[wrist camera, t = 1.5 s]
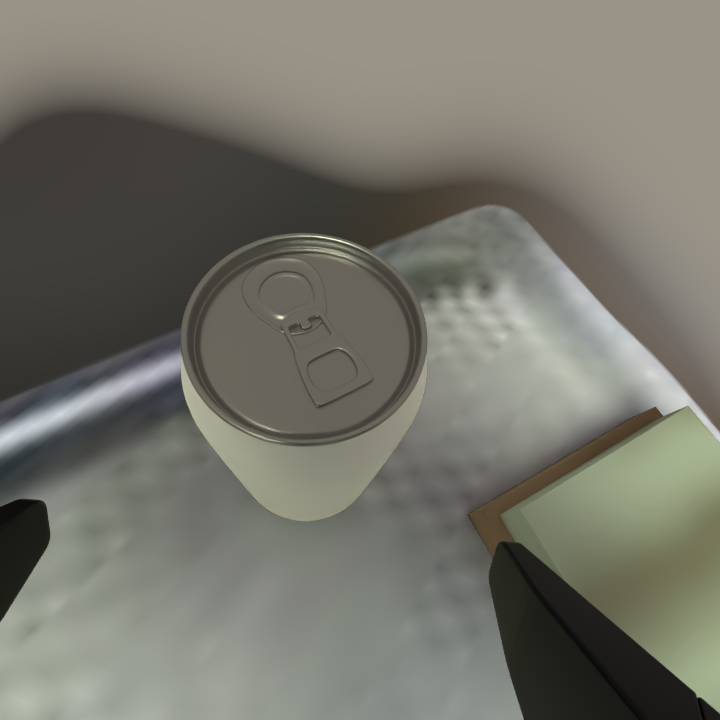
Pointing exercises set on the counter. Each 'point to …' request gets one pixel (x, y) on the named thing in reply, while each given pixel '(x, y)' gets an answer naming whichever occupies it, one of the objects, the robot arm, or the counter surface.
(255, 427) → the can
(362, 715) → the counter surface
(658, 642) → the tower base
